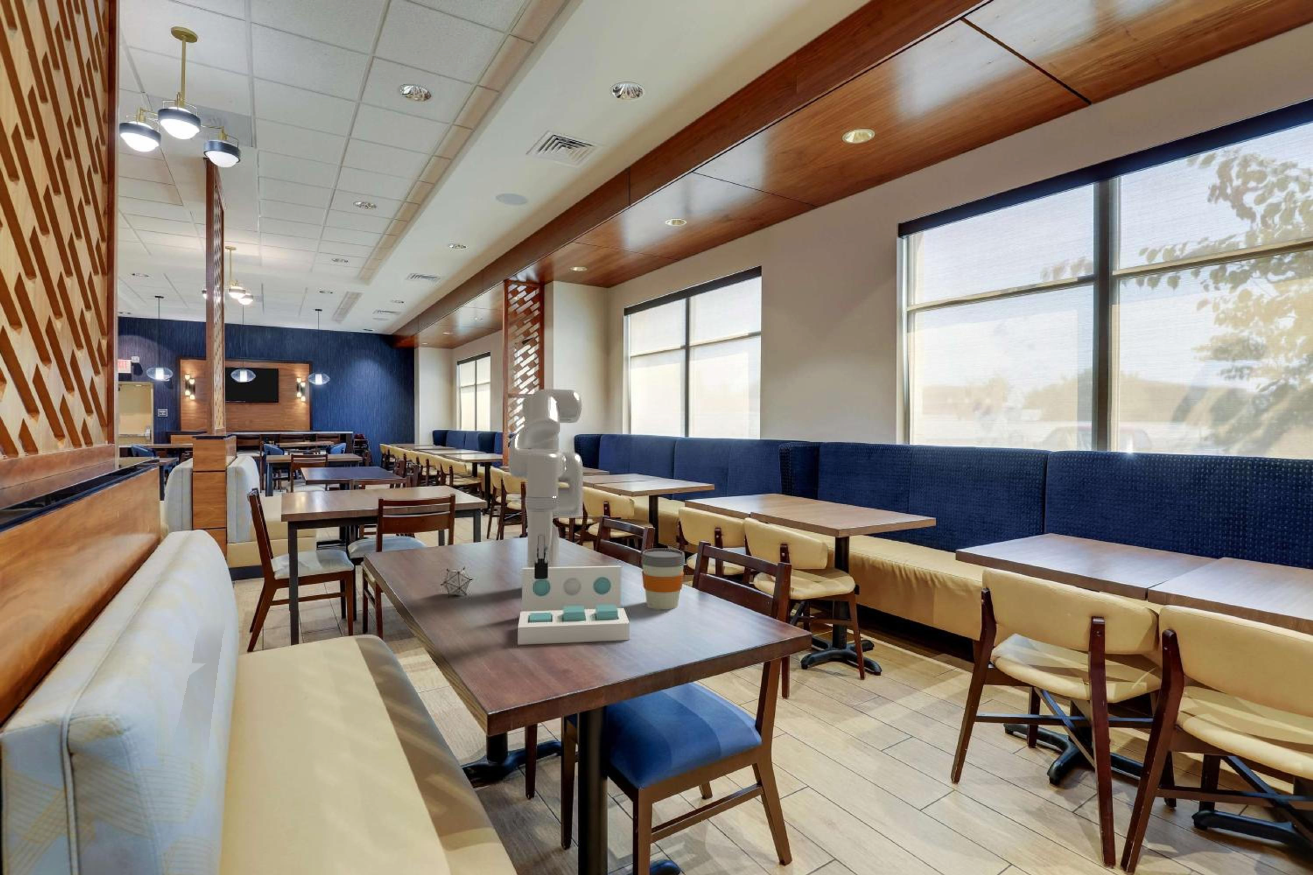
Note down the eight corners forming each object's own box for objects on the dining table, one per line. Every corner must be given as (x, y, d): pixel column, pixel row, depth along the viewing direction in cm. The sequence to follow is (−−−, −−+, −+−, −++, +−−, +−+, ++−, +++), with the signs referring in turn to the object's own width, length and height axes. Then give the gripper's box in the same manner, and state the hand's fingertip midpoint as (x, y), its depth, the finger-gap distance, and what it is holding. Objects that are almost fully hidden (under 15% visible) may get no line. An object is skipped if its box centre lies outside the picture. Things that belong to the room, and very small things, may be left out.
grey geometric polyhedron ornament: (460, 609, 178) (465, 587, 173) (433, 598, 178) (437, 576, 173) (474, 587, 186) (479, 565, 180) (448, 577, 186) (452, 555, 180)
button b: (563, 619, 150) (563, 606, 150) (583, 619, 151) (583, 605, 151) (563, 626, 146) (563, 612, 145) (584, 625, 146) (584, 611, 146)
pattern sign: (522, 613, 163) (523, 565, 163) (618, 610, 167) (619, 563, 167) (521, 620, 157) (522, 571, 157) (621, 617, 162) (622, 568, 161)
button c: (595, 618, 152) (595, 605, 152) (615, 618, 153) (615, 604, 153) (596, 625, 147) (597, 611, 147) (617, 624, 148) (617, 610, 148)
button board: (520, 627, 152) (520, 611, 152) (623, 623, 157) (623, 608, 157) (517, 644, 140) (518, 627, 140) (629, 639, 145) (629, 623, 145)
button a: (530, 626, 149) (530, 613, 149) (550, 626, 150) (550, 612, 150) (529, 633, 144) (529, 619, 144) (550, 632, 145) (550, 618, 145)
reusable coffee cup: (650, 613, 165) (651, 558, 165) (633, 600, 177) (634, 549, 177) (691, 608, 170) (692, 555, 170) (672, 596, 182) (673, 547, 182)
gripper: (527, 498, 153) (526, 570, 154) (525, 508, 139) (523, 587, 140) (557, 498, 155) (556, 569, 156) (558, 508, 140) (556, 586, 141)
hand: (541, 577), depth 148 cm, fingers closed
